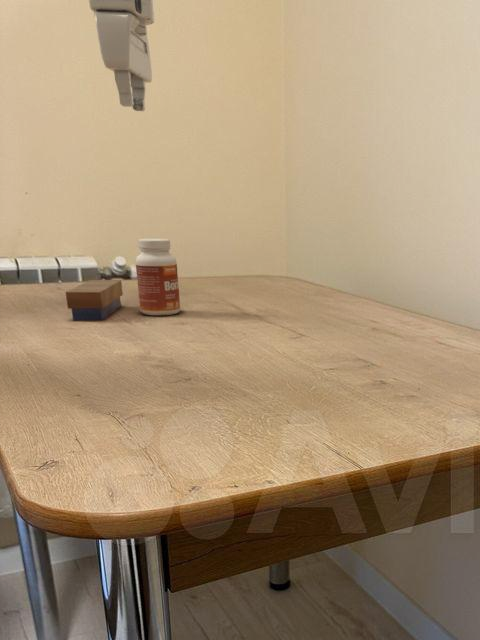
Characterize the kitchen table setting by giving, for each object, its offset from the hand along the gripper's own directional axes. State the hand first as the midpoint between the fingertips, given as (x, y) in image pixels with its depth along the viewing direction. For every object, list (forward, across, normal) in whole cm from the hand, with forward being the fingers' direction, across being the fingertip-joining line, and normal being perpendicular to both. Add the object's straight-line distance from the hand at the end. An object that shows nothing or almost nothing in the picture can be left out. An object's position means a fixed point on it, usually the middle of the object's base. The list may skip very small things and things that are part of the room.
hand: (133, 108), depth 114 cm
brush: (+30, +16, -5) cm, 34 cm away
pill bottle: (+30, +16, +4) cm, 34 cm away
